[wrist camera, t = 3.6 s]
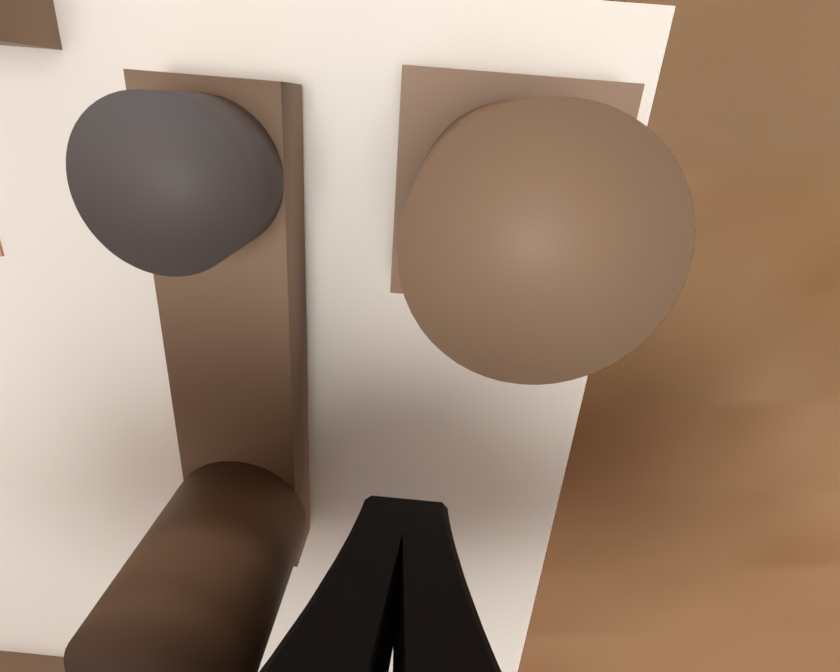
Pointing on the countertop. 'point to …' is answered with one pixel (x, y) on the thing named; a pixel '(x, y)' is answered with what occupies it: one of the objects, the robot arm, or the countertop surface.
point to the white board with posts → (342, 278)
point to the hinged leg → (207, 358)
